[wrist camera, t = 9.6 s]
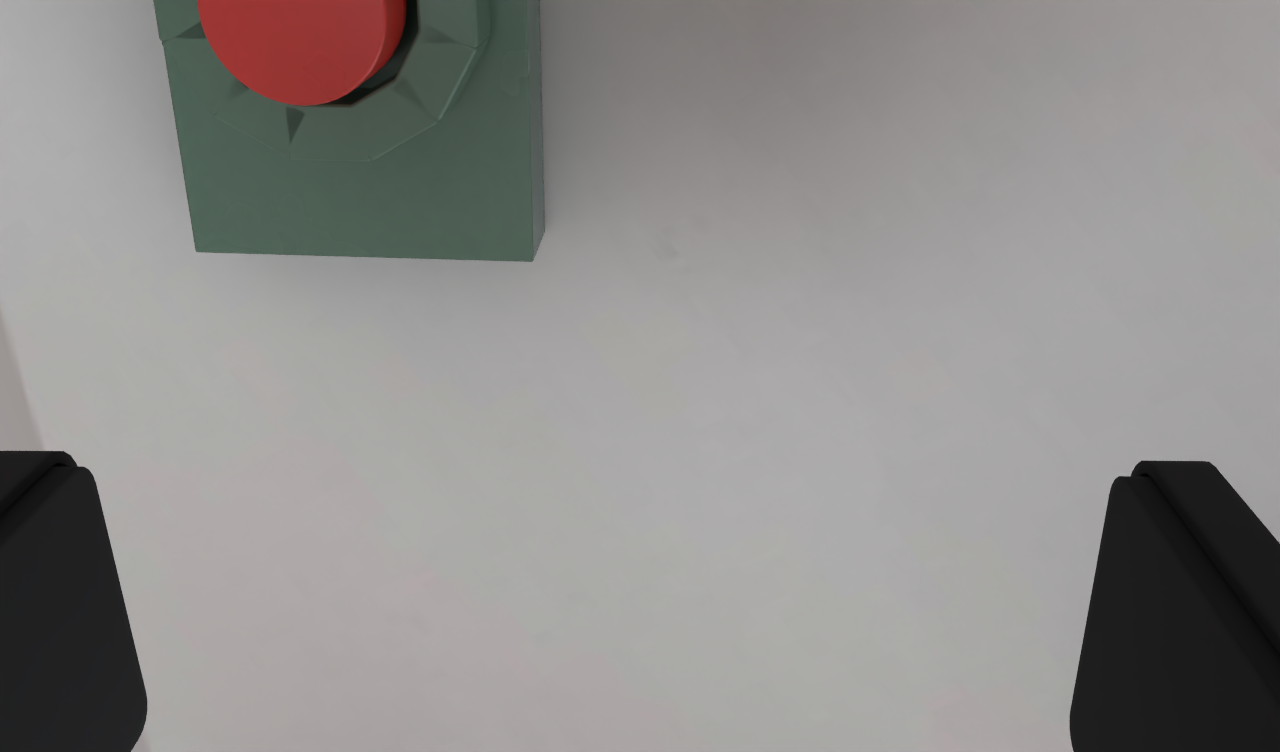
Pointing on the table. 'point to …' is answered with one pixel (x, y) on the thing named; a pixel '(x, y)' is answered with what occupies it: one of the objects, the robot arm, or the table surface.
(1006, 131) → the table surface
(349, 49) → the button
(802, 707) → the table surface
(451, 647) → the table surface
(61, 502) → the robot arm
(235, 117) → the button box
